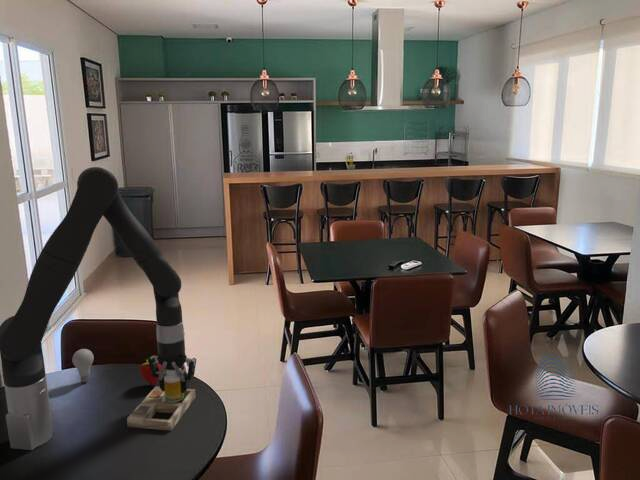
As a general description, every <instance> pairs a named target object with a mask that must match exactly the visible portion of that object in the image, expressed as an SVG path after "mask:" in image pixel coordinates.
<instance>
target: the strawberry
mask: <svg viewBox="0 0 640 480" xmlns="http://www.w3.org/2000/svg"><path fill="white" fill-rule="evenodd" d="M145 361H146V362H143V363H141V365H140V369H139V371H140V375H141V377H142V378H143V379H144V380H145V381H146V382H147V383H148V384H149V386H154V387H155V385H156V383H157V382H158V381H159V379H158V378H157V377H155V378H154V377H153V376H152V373H151V369H150V366H149V362H148V359H145ZM157 363H158V367H159V371H160V370H161V368H162V365H161V364H160V363H159V362H157Z"/></svg>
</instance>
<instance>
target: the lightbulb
mask: <svg viewBox="0 0 640 480" xmlns="http://www.w3.org/2000/svg"><path fill="white" fill-rule="evenodd" d="M94 357H95V356H94V354H93V352H92V351H91V350H90V349H87V348H80V349H79V350H77V351H75V352H74V353H73V355H72V359H71V361H72V364H73V365H74V367H75V368H76V370H77V371H78V375H79V376H80V377H79V378H80V381H81V382H82V383H87V382H88V381H89V380H91V379H90V374H91V367H92V365H93V362H94V359H95V358H94Z"/></svg>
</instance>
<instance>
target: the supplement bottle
mask: <svg viewBox="0 0 640 480" xmlns="http://www.w3.org/2000/svg"><path fill="white" fill-rule="evenodd" d="M164 387H165V399H166V401H165V402H172V403H179V402H180V401H183V400H184V399H185V398H184V393H181V379H180V377H179V375H177V373H176V371H175V370H169V369H166V375H165V376H164Z"/></svg>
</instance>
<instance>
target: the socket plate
mask: <svg viewBox="0 0 640 480" xmlns="http://www.w3.org/2000/svg"><path fill="white" fill-rule="evenodd" d="M196 398H197V397H196V389H195V388H193V389H192V388H188V389H187V390H186V391H185V393H184V398H183V399H182V402H173V403H172V402H168V401H166V399H165V391H162V389H160V386H159V385H157V386H154V388H153V389H152V390H151V391H150V392H149V393H148V394H147V396H146V397H145V398H144V399H143V400H142V401H141V402H140V403H139V404H138V405H137V406H136V408H135V409H134V410H133V411H132V412H131V413H130V414H129V416H127V418H126V421H127V428H139V429H150V430H151V429H152V430H161V431H170V432H171V431H172V430H173V429H174V427H175V426H176V425H177V424H178V422H180V419H181V418H182V416H183V415H184V414H185V412H186V411H187V409H188V408H189V407H190V406H191V404H192V403H193V401H195V399H196ZM156 413H162V414H163V413H165V414H172V415H171V416H170V418H169V419H161V418H153V417H154V416H155V414H156Z"/></svg>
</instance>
